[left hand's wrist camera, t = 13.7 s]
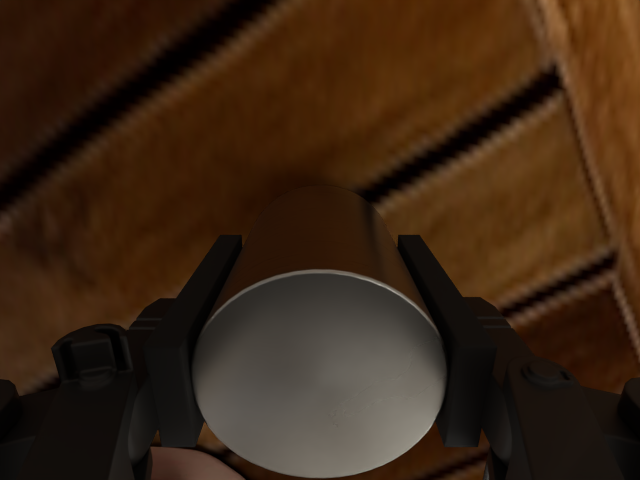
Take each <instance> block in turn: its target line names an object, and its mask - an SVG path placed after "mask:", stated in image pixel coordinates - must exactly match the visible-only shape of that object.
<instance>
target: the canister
mask: <svg viewBox="0 0 640 480" xmlns="http://www.w3.org/2000/svg"><path fill="white" fill-rule="evenodd" d="M448 384H449V363H448V356H447V351H446V348H445V345H444V342H443V339H442V337H441V335H440V333H439V331H438V329H437V327H436V325H435V323H434V321H433V319H432V317H431V315H430V313H429V311H428V309H427V307H426V305H425V303H424V301H423V299H422V297H421V295H420V293H419V291H418V289H417V287H416V285H415V283H414V281H413V279H412V277H411V275H410V273H409V271H408V269H407V267H406V265H405V263H404V261H403V259H402V257H401V255H400V253H399V251H398V249H397V247H396V245H395V243H394V241H393V239H392V237H391V235H390V233H389V231H388V229H387V227H386V225H385V223H384V221H383V219H382V217H381V216H380V215H379V213H378V212H377V210H376V209H375V208H374V207H373V206H372V205H371V204H370V203H368V202H367V201H366V200H365V199H364V198H362V197H360V196H359V195H357V194H355V193H353V192H351V191H349V190H346V189H343V188H340V187H336V186H329V185H311V186H304V187H300V188H296V189H294V190H291V191H289V192H287V193H285V194H283V195H281V196H279V197H278V198H276V199H275V200H274V201H272V202H271V203H270V204H269V205H268V206H267V207H266V208H265V209H264V210H263V212H262V213H261V214H260V215H259V217H258V219H257V221H256V222H255V224H254V226H253V228H252V230H251V232H250V234H249V236H248V238H247V240H246V242H245V244H244V246H243V248H242V250H241V252H240V254H239V256H238V258H237V260H236V262H235V264H234V266H233V268H232V270H231V272H230V274H229V276H228V278H227V280H226V282H225V284H224V286H223V288H222V290H221V292H220V294H219V296H218V298H217V300H216V302H215V304H214V306H213V308H212V310H211V312H210V314H209V316H208V318H207V320H206V322H205V324H204V326H203V328H202V330H201V332H200V334H199V337H198V339H197V342H196V344H195V347H194V350H193V355H192V360H191V385H192V392H193V395H194V399H195V402H196V405H197V407H198V410H199V412H200V414H201V416H202V418H203V419H204V421H205V422H206V424H207V425H208V427H209V428H210V430H211V431H212V432H213V433H214V434H215V435H216V437H217V438H218V439H219V440H220V441H221V442H223V443H224V444H225V445H226V446H227V447H228V448H229V449H231V450H232V451H234V452H235V453H236V454H238V455H239V456H241V457H243V458H244V459H246V460H248V461H250V462H251V463H253V464H256V465H258V466H261V467H263V468H265V469H268V470H271V471H274V472H278V473H281V474H286V475H291V476H296V477H305V478H334V477H343V476H349V475H354V474H358V473H362V472H365V471H369V470H372V469H374V468H377V467H379V466H382V465H384V464H386V463H388V462H390V461H392V460H394V459H396V458H397V457H399V456H400V455H402V454H403V453H405V452H406V451H408V450H409V449H410V448H411V447H413V446H414V445H415V444H416V443H417V442H419V440H420V439H421V438H422V437H423V436H424V435H425V434H426V433H427V432H428V431H429V429H430V428H431V426H432V425H433V424H434V422H435V421H436V419H437V417H438V415H439V413H440V411H441V409H442V407H443V404H444V401H445V398H446V395H447V389H448Z"/></svg>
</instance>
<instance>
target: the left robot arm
mask: <svg viewBox="0 0 640 480" xmlns="http://www.w3.org/2000/svg"><path fill="white" fill-rule="evenodd" d="M397 249H398V251H399V253H400V255H401V257H402V259H403V261H404V263H405V265H406V267H407V269H408V271H409V273H410V275H411V277H412V279H413V281H414V283H415V285H416V287H417V289H418V291H419V293H420V295H421V297H422V299H423V301H424V303H425V305H426V307H427V309H428V311H429V313H430V315H431V317H432V319H433V321H434V323H435V325H436V327H437V329H438V331H439V333H440V335H441V337H442V339H443V342H444V345H445V348H446V351H447V356H448V363H449V384H448V389H447V395H446V398H445V401H444V404H443V407H442V409H441V411H440V413H439V415H438V417H437V419H436V424H437V427H438V430H439V433H440V435H441V438H442V441H443V444H444V447H478V443H479V438H480V433H481V428H482V429H483V431H484V433H485V435H486V437H487V439H488V441H489V443H490V448H489V452H488V457H487V462H486V466H485V471H484V476H483V480H640V378H631V379H630V380H629V381H627V382H626V383H625V386H624V388H623V391H622V394H621V395H620V394H615V393H610V392H605V391H601V390H596V389H591V388H587V387H583V386H580V384H579V382H578V381H577V379H576V378H575V377H574V375H573V374H572V373H571V372H569V371H568V370H567V369H565V368H564V367H563V366H561V365H559V364H557V363H555V362H553V361H550V360H548V359H544V358H541V357H537V356H535V355H534V354H533V353H532V351H531V350H530V349H529V348H528V347H527V345H526V344H525V343H524V342H523V340H522V339H521V338H520V337H519V336H518V334H517V333H516V332H515V331H514V329H513V328H511V326H510V325H509V323H508V322H507V321H506V320H505V319H503V316H502V315H501V314H500V312H499V311H498V310H497V309H496V307H495V306H493V305H492V304H490V303H489V302H487V301H485V300H484V299H482V298H481V297H462V295H461V294H460V292H459V291H458V290H457V288H456V287H455V285H454V284H453V282H452V281H451V280H450V278H449V277H448V275H447V274H446V272H445V271H444V270H443V268H442V267H441V265H440V264H439V262H438V261H437V260H436V258H435V257H434V255H433V254H432V252H431V251H430V249H429V248H428V247H427V245H426V244H425V242H424V241H423V239H422V238H421V237H420V235H398V247H397ZM241 250H242V237H241V235H220V236H219V238H218V239H217V241H216V242H215V243H214V245H213V246H212V248H211V249H210V251H209V252H208V253H207V255H206V256H205V258H204V259H203V261H202V262H201V263H200V265H199V266H198V268H197V269H196V271H195V272H194V273H193V275H192V276H191V278H190V279H189V281H188V282H187V283H186V285H185V286H184V288H183V289H182V291H181V292H180V293H179V295H178V296H177V298H160V299H158V300H157V301H155V302H153V303H152V304H150V305H149V306H147V307H146V308H145V309H144V310H143V311H142V312H141V314H140V315H139V316H138V317H137V320H136V321H134V322H133V323H132V325H131V326H130V327H129V330H127V331H126V330H125V329H124V328H122V327H121V326H119V325H114V324H96V325H92V326H87V327H83V328H81V329H78V330H76V331H73V332H71V333H69V334H67V335H66V336H64V337H62V338H61V339H59V340H58V341H57V342H56V343H55V344H54V345H53V347H52V348H51V350H52V353H53V357H54V360H55V363H56V367H57V370H58V373H59V377H60V380H61V384H60V387H59V388H56V389H52V390H47V391H43V392H38V393H33V394H29V395H24V396H19V395H18V392H17V390H16V387H15V385H14V384H13V383H12V382H10V381H9V380H2V379H0V480H151V474H152V466H153V459H152V452H151V448H150V445H151V443H152V441H153V438H154V436H155V434H156V432H157V430H159V435H160V440H161V445H162V447H195V446H196V443H197V440H198V438H199V435H200V432H201V429H202V426H203V423H204V419H203V418H202V416H201V414H200V412H199V410H198V407H197V405H196V402H195V399H194V395H193V392H192V385H191V360H192V355H193V350H194V347H195V344H196V342H197V339H198V337H199V334H200V332H201V330H202V328H203V326H204V324H205V322H206V320H207V318H208V316H209V314H210V312H211V310H212V308H213V306H214V304H215V302H216V300H217V298H218V296H219V294H220V292H221V290H222V288H223V286H224V284H225V282H226V280H227V278H228V276H229V274H230V272H231V270H232V268H233V266H234V264H235V262H236V260H237V258H238V256H239V254H240V252H241Z"/></svg>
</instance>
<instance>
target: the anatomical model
mask: <svg viewBox="0 0 640 480" xmlns="http://www.w3.org/2000/svg"><path fill="white" fill-rule="evenodd" d="M150 448H151V452H152V459H153V466H152V474H151V480H246V479H245V478H243V477H242V476H241V475H239V474H238V473H237V472H236V471H234V470H233V469H231V468H230V467H228V466H227V465H226V464H224V463H223V462H221V461H220V460H218V459H216V458H215V457H213V456H211V455H209V454H206V453H204V452H200V451H196V450H191V449H182V448H171V447H150Z"/></svg>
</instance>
